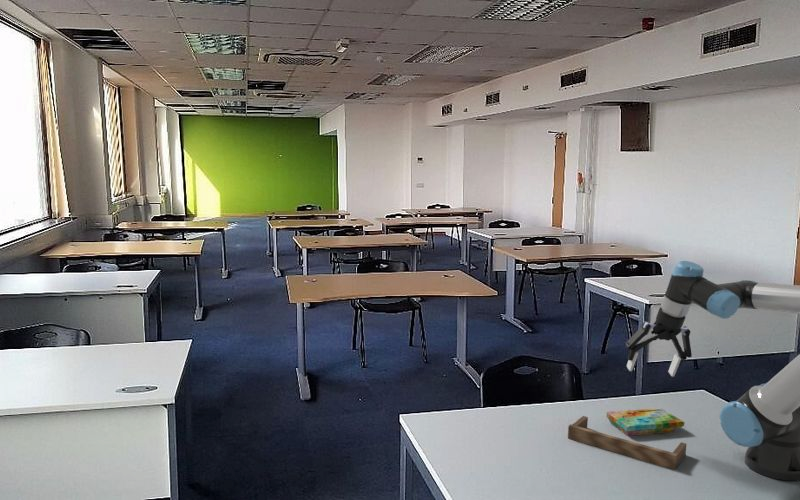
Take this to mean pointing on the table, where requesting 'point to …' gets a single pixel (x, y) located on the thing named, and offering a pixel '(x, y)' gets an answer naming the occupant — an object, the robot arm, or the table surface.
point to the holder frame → (625, 445)
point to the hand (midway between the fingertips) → (650, 371)
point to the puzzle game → (644, 421)
